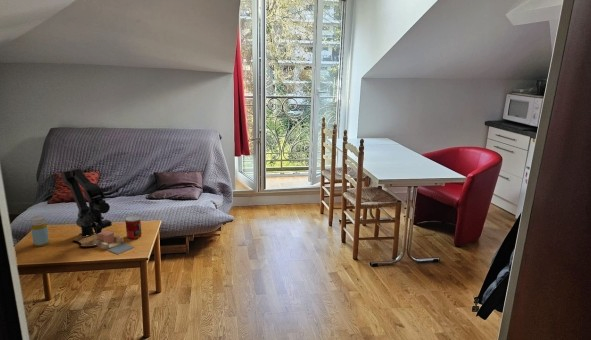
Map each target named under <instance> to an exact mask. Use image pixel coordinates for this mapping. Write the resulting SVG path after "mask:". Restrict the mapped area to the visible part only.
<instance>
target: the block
mask: <svg viewBox="0 0 591 340" xmlns="http://www.w3.org/2000/svg"><path fill="white" fill-rule="evenodd" d="M114 235H115V232H113V231H110V230H104V231H101V233H98V234H97V235H96V236H97V237H96V239H97V240H100V241H102V242H105V243H107V244H109V243H111V242H114V241H115V240H114Z"/></svg>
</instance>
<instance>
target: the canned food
mask: <svg viewBox="0 0 591 340" xmlns="http://www.w3.org/2000/svg"><path fill="white" fill-rule="evenodd" d="M125 231H126V237H127V239H130V240H136V239H140V238H141V237H142V223H141V216H138V215H129V216H126V218H125Z"/></svg>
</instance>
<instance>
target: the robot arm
mask: <svg viewBox="0 0 591 340" xmlns="http://www.w3.org/2000/svg"><path fill="white" fill-rule="evenodd" d="M60 179H61V180H62V181H63V183H64V184H65V185H66V186H68V187H69V190H70V191H71V194H72V197H73V199H74V201H75V204H76V206H77V210H78V213H77V219H76V221H75V223H76V226H77V227H79V228H80V230H81V233H79V234H78V235H79V236H82V237H83V236H86V235H90V236H92V234H93V235H96V236H97V234H98V233H101V232H103V231H102V230H103V229H106V228H109V227H111V226H112V225H113V223H112V221H111V220H108V219H105V217H104V216H102V215H103V214H107V213H108V212H109V211H110V208H111V205H110V204H109V203H108V202H106V200H105V199H106V196H105V193H104V191H103V189H102V188H101V187H100V186H99V185H98V184H97V183H94V182H92V181H91V180H90V179H89V178H88V177H87V176H86V174H84V172H83V171H82V169H81V168H74V169H69V170H64V171H62V172H61V173H60ZM80 186H81V187H82V188H83V192H82V190H81V187H80ZM84 196H85V197H86V198H85V197H84ZM86 200H87V201H88V202H87V201H86ZM87 203H88V204H87ZM94 233H96V234H94Z"/></svg>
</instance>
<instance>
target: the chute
mask: <svg viewBox="0 0 591 340" xmlns="http://www.w3.org/2000/svg"><path fill="white" fill-rule="evenodd" d="M114 240H115V241H114V242H111V243H109V244H107V243H105V242H102V241H100V240H97V238H93V239H92V244H93V243H94V244H96V245H97V246H96V247H97V248H99V249H100V248H101V249H103V250H106V251H108V249H111V248H113V247H116V246H118V245H121V244H123V243H125V241H124V238H123V237H121V236H118V235H116V234H114Z"/></svg>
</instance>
